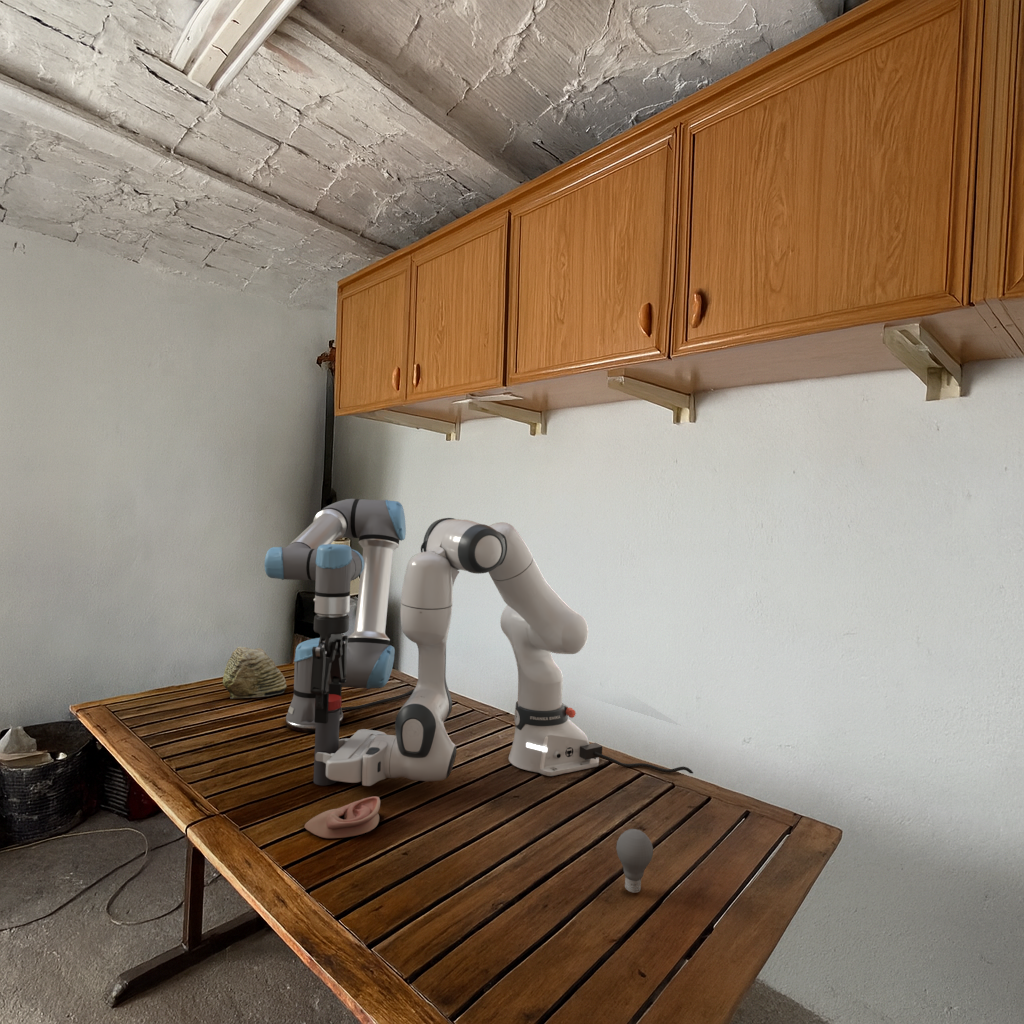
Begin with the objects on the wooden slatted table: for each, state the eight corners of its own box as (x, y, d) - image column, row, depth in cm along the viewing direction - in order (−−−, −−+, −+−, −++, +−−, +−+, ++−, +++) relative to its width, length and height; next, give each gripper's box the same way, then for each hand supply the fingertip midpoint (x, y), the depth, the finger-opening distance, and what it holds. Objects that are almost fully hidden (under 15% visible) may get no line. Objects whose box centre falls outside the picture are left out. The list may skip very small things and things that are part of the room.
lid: (315, 711, 137) (316, 702, 137) (314, 703, 143) (314, 694, 143) (342, 709, 139) (343, 700, 139) (340, 701, 145) (340, 693, 145)
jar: (339, 783, 140) (342, 704, 140) (315, 787, 138) (318, 706, 138) (334, 774, 145) (337, 697, 145) (311, 777, 143) (314, 699, 142)
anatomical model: (296, 812, 118) (326, 786, 130) (295, 833, 118) (325, 805, 130) (362, 823, 116) (387, 795, 127) (361, 844, 116) (386, 814, 127)
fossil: (218, 695, 195) (220, 647, 195) (278, 685, 208) (279, 640, 207) (228, 703, 189) (230, 653, 188) (289, 692, 201) (290, 645, 201)
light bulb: (610, 879, 108) (613, 822, 108) (644, 879, 109) (647, 822, 109) (619, 902, 102) (622, 840, 102) (655, 901, 103) (658, 840, 103)
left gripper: (333, 606, 151) (330, 702, 151) (295, 620, 132) (291, 730, 132) (364, 608, 150) (360, 705, 150) (329, 623, 131) (325, 734, 131)
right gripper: (397, 725, 150) (341, 720, 152) (367, 759, 130) (303, 753, 131) (396, 751, 150) (340, 746, 152) (366, 790, 130) (302, 783, 131)
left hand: (327, 716), depth 141 cm, fingers open, 6 cm apart
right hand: (322, 749), depth 141 cm, fingers closed on jar, 5 cm apart
